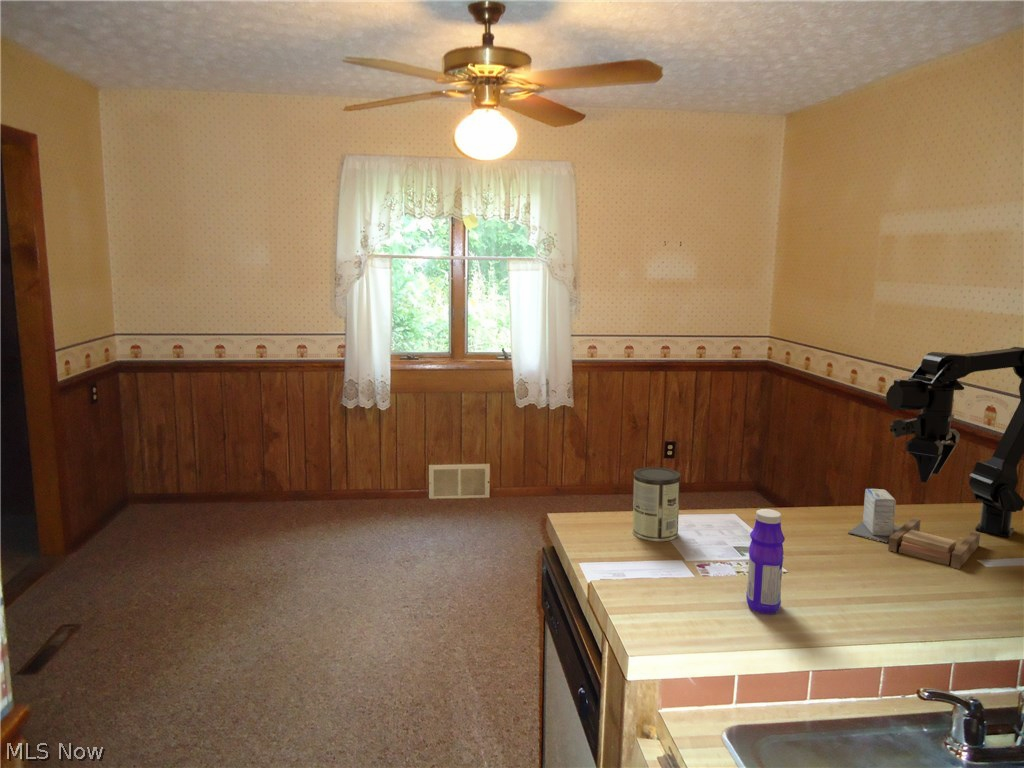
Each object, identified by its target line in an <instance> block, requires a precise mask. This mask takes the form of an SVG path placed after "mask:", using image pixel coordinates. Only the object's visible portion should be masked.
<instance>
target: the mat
mask: <svg viewBox="0 0 1024 768" xmlns="http://www.w3.org/2000/svg"><path fill="white" fill-rule="evenodd" d="M901 527H902V526H897V525H894V533H895V532H896V531H898V530H899V529H900V528H901ZM894 533H893V534H894ZM847 534H848V535H851V534H854V535H853V536H855V535H859V536H862V537H861V538H863V537H867V538H871V539H875V540H879V541H882V542H885V543H884V544H886V543H887V542H888V541H889V537H890V536H877V535H872V533H871V532H870V531H869V530H868V529H867V527H866V526H865V525H864V524H863V521H862V522H860V523H859V524H857V525H856V526H855V527H853V528H852V529H850V530H849V531H848V532H847ZM859 536H858V537H859ZM867 538H866V539H867ZM871 539H870V540H871ZM882 542H881V543H882ZM888 543H889V542H888ZM888 543H887V544H888Z"/></svg>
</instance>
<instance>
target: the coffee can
mask: <svg viewBox="0 0 1024 768" xmlns="http://www.w3.org/2000/svg"><path fill="white" fill-rule="evenodd" d="M681 477H682V476H681V473H680V472H678V471H677V470H674V469H670V468H665V467H654V466H652V467H651V466H650V467H649V466H648V467H643V468H642V467H641V468H638V469H635V470H634V471H633V498H632V499H633V504H632V508H633V509H632V510H633V512H632V533H633V535H634V536H635V537H637V538H639V539H641V540H644V541H650V542H663V543H664V542H668V541H669V542H670V541H673V540H675V539H677V538H678V536H679V511H680V507H679V506H680V488H681V487H680V486H681V485H680V483H681V482H680V480H681Z"/></svg>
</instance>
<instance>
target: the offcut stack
mask: <svg viewBox="0 0 1024 768" xmlns="http://www.w3.org/2000/svg"><path fill="white" fill-rule="evenodd" d="M956 547H957V540H955V539H950V538H947V537H943V536H939V535H935V534H930V533H926V532H923V531H920V530H919V531H915V530H910V531H909V532H907V533H906V534H905V535H903V539H902V542H901V546H900V547H899V550H898V553H900V554H902V553H903V554H902V555H907V556H911V557H915V558H919V559H922V560H927V561H930V562H933V563H938V564H941V565H945V566H951V558H952V552H953V551H954V550H955V549H956Z"/></svg>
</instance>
